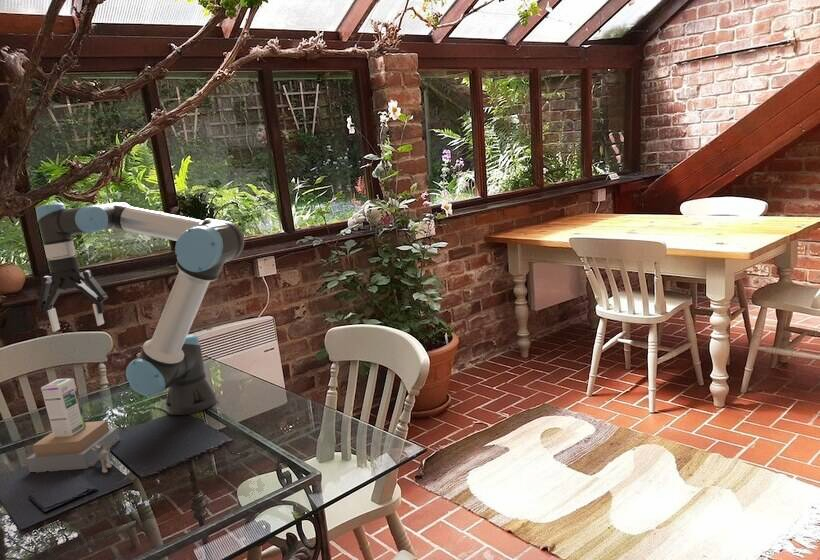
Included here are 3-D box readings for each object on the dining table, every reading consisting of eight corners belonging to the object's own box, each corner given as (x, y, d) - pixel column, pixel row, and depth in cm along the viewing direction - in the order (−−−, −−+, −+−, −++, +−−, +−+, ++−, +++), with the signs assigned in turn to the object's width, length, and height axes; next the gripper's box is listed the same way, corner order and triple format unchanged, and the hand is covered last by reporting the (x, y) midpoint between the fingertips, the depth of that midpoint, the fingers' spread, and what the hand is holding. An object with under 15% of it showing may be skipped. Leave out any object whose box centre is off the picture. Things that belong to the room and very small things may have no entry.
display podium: (120, 440, 177) (115, 417, 176) (86, 468, 162) (80, 443, 160) (68, 445, 179) (62, 422, 178) (29, 472, 163) (23, 448, 162)
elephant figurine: (83, 480, 155) (79, 456, 162) (104, 487, 159) (99, 464, 166) (110, 450, 156) (106, 428, 162) (131, 458, 160) (125, 436, 166)
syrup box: (72, 436, 166) (59, 385, 163) (52, 437, 167) (40, 386, 164) (86, 427, 171) (74, 377, 169) (68, 428, 172) (55, 378, 170)
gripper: (109, 249, 185) (125, 318, 189) (28, 261, 186) (45, 329, 190) (97, 253, 178) (113, 325, 181) (12, 265, 179) (30, 336, 182)
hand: (78, 327), depth 186 cm, fingers open, 13 cm apart
